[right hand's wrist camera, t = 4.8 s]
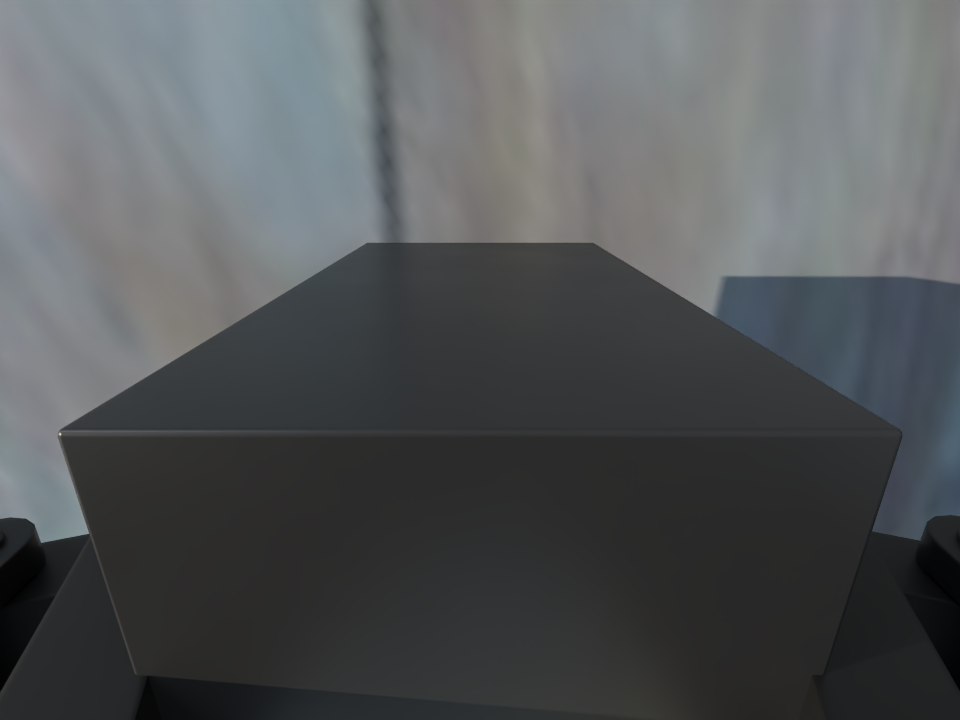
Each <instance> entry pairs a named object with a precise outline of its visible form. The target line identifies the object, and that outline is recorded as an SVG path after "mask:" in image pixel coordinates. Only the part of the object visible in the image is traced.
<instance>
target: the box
mask: <svg viewBox="0 0 960 720" xmlns="http://www.w3.org/2000/svg"><path fill="white" fill-rule="evenodd" d="M58 439H59V442H60V445H61V448H62V451H63V454H64V457H65V460H66V463H67V466H68V469H69V472H70V475H71V479H72V482H73V485H74V488H75V491H76V494H77V497H78V500H79V503H80V506H81V509H82V512H83V515H84V519H85V522H86V525H87V528H88V531H89V534H90V537H91V540H92V543H93V546H94V549H95V552H96V555H97V559H98V562H99V565H100V568H101V571H102V574H103V577H104V580H105V583H106V586H107V589H108V592H109V595H110V599H111V602H112V605H113V608H114V611H115V614H116V617H117V620H118V623H119V626H120V629H121V632H122V636H123V639H124V642H125V645H126V648H127V651H128V654H129V657H130V660H131V663H132V666H133V669H134V672H135V674H136V675H138V676H148V678H149V681H150V684H151V687H152V690H153V694H154V697H155V700H156V703H157V706H158V710H159V713H160V716H161V719H162V720H799V717H800V713H801V710H802V707H803V704H804V701H805V697H806V694H807V691H808V688H809V685H810V681H811V678H812V675H823V674H825V673H826V670H827V667H828V664H829V661H830V658H831V655H832V652H833V649H834V646H835V643H836V640H837V636H838V633H839V630H840V627H841V624H842V621H843V618H844V615H845V612H846V609H847V606H848V603H849V599H850V596H851V593H852V590H853V587H854V584H855V581H856V578H857V575H858V572H859V569H860V566H861V562H862V559H863V556H864V553H865V550H866V547H867V544H868V541H869V538H870V535H871V532H872V529H873V525H874V522H875V519H876V516H877V513H878V510H879V507H880V504H881V501H882V498H883V495H884V492H885V488H886V485H887V482H888V479H889V476H890V473H891V470H892V467H893V464H894V461H895V458H896V455H897V451H898V448H899V445H900V442H901V439H902V432H901V431H900V429H898V428H897V427H895V426H893V425H892V424H890V423H888V422H887V421H885V420H883V419H882V418H880V417H878V416H877V415H875V414H874V413H872V412H870V411H869V410H867V409H865V408H864V407H862V406H860V405H859V404H857V403H855V402H854V401H852V400H851V399H849V398H847V397H846V396H844V395H842V394H841V393H839V392H837V391H836V390H834V389H832V388H831V387H829V386H828V385H826V384H824V383H823V382H821V381H819V380H818V379H816V378H814V377H813V376H811V375H809V374H808V373H806V372H805V371H803V370H801V369H800V368H798V367H796V366H795V365H793V364H791V363H790V362H788V361H786V360H785V359H783V358H782V357H780V356H778V355H777V354H775V353H773V352H772V351H770V350H768V349H767V348H765V347H763V346H762V345H760V344H758V343H757V342H755V341H754V340H752V339H750V338H749V337H747V336H745V335H744V334H742V333H740V332H739V331H737V330H735V329H734V328H732V327H731V326H729V325H727V324H726V323H724V322H722V321H721V320H719V319H717V318H716V317H714V316H712V315H711V314H709V313H708V312H706V311H704V310H703V309H701V308H699V307H698V306H696V305H694V304H693V303H691V302H689V301H688V300H686V299H685V298H683V297H681V296H680V295H678V294H676V293H675V292H673V291H671V290H670V289H668V288H666V287H665V286H663V285H662V284H660V283H658V282H657V281H655V280H653V279H652V278H650V277H648V276H647V275H645V274H643V273H642V272H640V271H638V270H637V269H635V268H634V267H632V266H630V265H629V264H627V263H625V262H624V261H622V260H620V259H619V258H617V257H615V256H614V255H612V254H611V253H609V252H607V251H606V250H604V249H602V248H601V247H599V246H597V245H596V244H594V243H366V244H365V245H363V246H361V247H360V248H358V249H357V250H355V251H353V252H352V253H350V254H348V255H347V256H345V257H343V258H342V259H340V260H338V261H337V262H335V263H333V264H332V265H330V266H329V267H327V268H325V269H324V270H322V271H320V272H319V273H317V274H315V275H314V276H312V277H310V278H309V279H307V280H306V281H304V282H302V283H301V284H299V285H297V286H296V287H294V288H292V289H291V290H289V291H287V292H286V293H284V294H282V295H281V296H279V297H278V298H276V299H274V300H273V301H271V302H269V303H268V304H266V305H264V306H263V307H261V308H259V309H258V310H256V311H255V312H253V313H251V314H250V315H248V316H246V317H245V318H243V319H241V320H240V321H238V322H236V323H235V324H233V325H231V326H230V327H228V328H227V329H225V330H223V331H222V332H220V333H218V334H217V335H215V336H213V337H212V338H210V339H208V340H207V341H205V342H204V343H202V344H200V345H199V346H197V347H195V348H194V349H192V350H190V351H189V352H187V353H185V354H184V355H182V356H181V357H179V358H177V359H176V360H174V361H172V362H171V363H169V364H167V365H166V366H164V367H162V368H161V369H159V370H157V371H156V372H154V373H153V374H151V375H149V376H148V377H146V378H144V379H143V380H141V381H139V382H138V383H136V384H134V385H133V386H131V387H130V388H128V389H126V390H125V391H123V392H121V393H120V394H118V395H116V396H115V397H113V398H111V399H110V400H108V401H106V402H105V403H103V404H102V405H100V406H98V407H97V408H95V409H93V410H92V411H90V412H88V413H87V414H85V415H83V416H82V417H80V418H79V419H77V420H75V421H74V422H72V423H70V424H69V425H67V426H65V427H64V428H62V429H60V431H59V432H58Z"/></svg>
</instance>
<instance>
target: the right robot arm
mask: <svg viewBox="0 0 960 720" xmlns="http://www.w3.org/2000/svg"><path fill="white" fill-rule="evenodd" d="M0 720H162V719H161V716H160V713H159V710H158V706H157V703H156V700H155V697H154V694H153V690H152V687H151V684H150V681H149V678H148V676H138V675H136V674H135V672H134V669H133V666H132V663H131V660H130V657H129V654H128V651H127V648H126V645H125V642H124V639H123V636H122V632H121V629H120V626H119V623H118V620H117V617H116V614H115V611H114V608H113V605H112V602H111V599H110V595H109V592H108V589H107V586H106V583H105V580H104V577H103V574H102V571H101V568H100V565H99V562H98V559H97V555H96V552H95V549H94V546H93V543H92V540H91V537H90V534H86V535H81V536H76V537H71V538H65V539H60V540H55V541H50V542H45V543H41V541H40V539H39V536H38V533H37V531H36V528H35V525H34V524H33V523H31V522H30V521H28V520H27V519H22V518H4V519H0ZM799 720H960V516H953V515H948V516H935V517H934V518H932V519H931V520H929V521H928V522H927V524H926V527H925V529H924V532H923V535H922V537H921V540H920V541H918V540H913V539H908V538H902V537H897V536H892V535H887V534H882V533H876V532H871V535H870V538H869V541H868V544H867V547H866V550H865V553H864V556H863V559H862V562H861V566H860V569H859V572H858V575H857V578H856V581H855V584H854V587H853V590H852V593H851V596H850V599H849V603H848V606H847V609H846V612H845V615H844V618H843V621H842V624H841V627H840V630H839V633H838V636H837V640H836V643H835V646H834V649H833V652H832V655H831V658H830V661H829V664H828V667H827V670H826V673H825V674H823V675H812V678H811V681H810V685H809V688H808V691H807V694H806V697H805V701H804V704H803V707H802V710H801V713H800V717H799Z"/></svg>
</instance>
